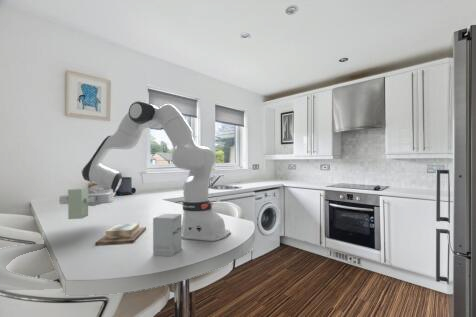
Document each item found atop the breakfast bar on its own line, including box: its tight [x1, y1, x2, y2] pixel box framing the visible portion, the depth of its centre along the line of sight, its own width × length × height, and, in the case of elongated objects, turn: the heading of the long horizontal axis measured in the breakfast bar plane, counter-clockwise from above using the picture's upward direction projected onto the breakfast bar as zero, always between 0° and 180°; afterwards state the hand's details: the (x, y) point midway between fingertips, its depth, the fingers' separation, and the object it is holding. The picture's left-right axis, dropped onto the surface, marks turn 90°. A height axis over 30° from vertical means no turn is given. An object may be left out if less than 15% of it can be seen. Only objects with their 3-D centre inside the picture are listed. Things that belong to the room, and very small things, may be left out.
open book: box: [94, 223, 147, 246], centre depth 96 cm, size 14×18×4 cm
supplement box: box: [152, 213, 183, 257], centre depth 78 cm, size 7×7×13 cm
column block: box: [67, 187, 89, 220], centre depth 94 cm, size 5×5×12 cm
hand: (77, 201), depth 93 cm, fingers closed on column block, 5 cm apart
